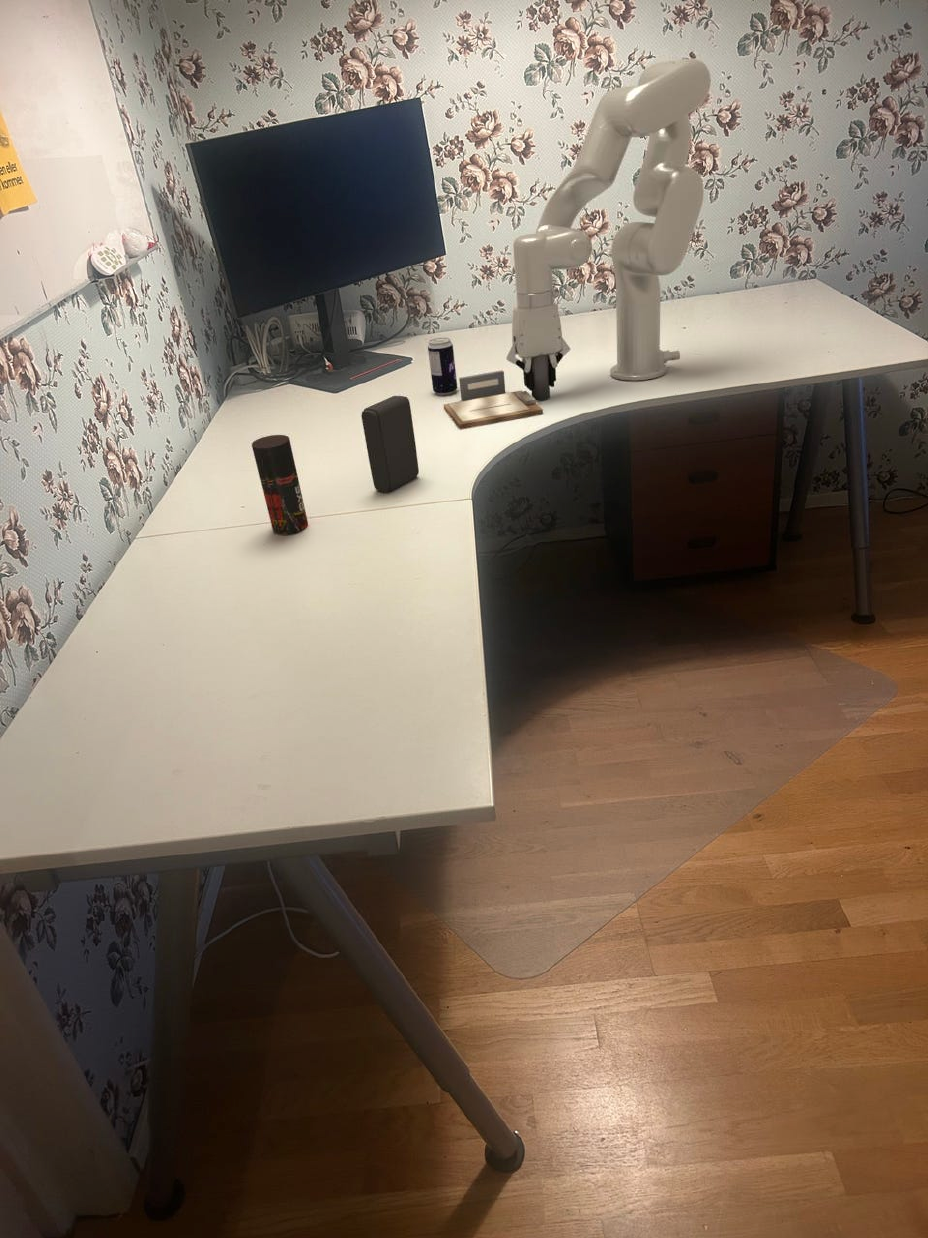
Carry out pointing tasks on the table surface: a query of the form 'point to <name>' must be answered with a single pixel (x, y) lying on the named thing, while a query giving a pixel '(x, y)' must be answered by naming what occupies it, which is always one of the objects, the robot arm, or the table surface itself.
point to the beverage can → (442, 366)
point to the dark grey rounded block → (390, 443)
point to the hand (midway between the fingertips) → (540, 386)
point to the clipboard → (493, 409)
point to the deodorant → (280, 484)
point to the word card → (482, 385)
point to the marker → (540, 377)
